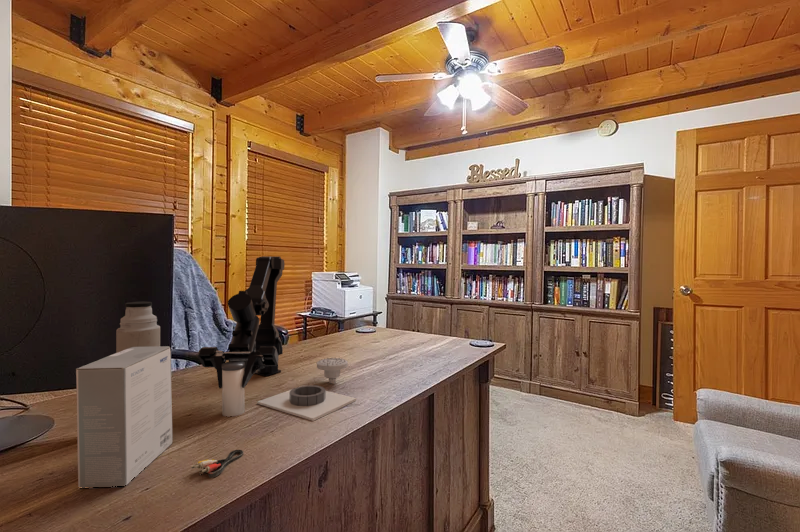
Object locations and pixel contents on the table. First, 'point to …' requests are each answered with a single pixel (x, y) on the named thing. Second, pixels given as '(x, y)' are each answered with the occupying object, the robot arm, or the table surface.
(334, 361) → the showerhead
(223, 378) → the canister
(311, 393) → the socket
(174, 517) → the table surface
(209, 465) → the composite cable
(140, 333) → the thermos bottle
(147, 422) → the hard drive box
